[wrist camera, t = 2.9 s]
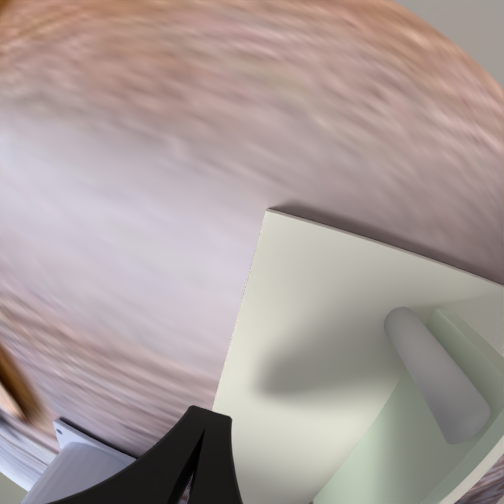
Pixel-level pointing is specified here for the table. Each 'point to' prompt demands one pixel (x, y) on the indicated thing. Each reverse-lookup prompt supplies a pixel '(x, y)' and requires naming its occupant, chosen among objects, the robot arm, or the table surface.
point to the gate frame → (342, 354)
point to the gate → (422, 432)
